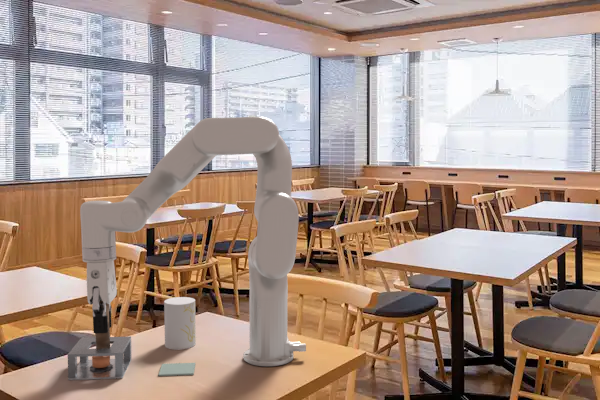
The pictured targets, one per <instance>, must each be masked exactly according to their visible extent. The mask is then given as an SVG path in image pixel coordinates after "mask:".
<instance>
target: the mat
mask: <svg viewBox="0 0 600 400" xmlns="http://www.w3.org/2000/svg"><path fill="white" fill-rule="evenodd" d="M195 368H196V362H181V363H180V362H179V363H178V362H176V363H175V362H174V363H173V362H172V363H170V362H169V363H162V364H161V366H160V369H159V372H158V377H172V376H175V377H177V375H178V376H194V374H195Z"/></svg>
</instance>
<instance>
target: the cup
mask: <svg viewBox="0 0 600 400" xmlns="http://www.w3.org/2000/svg"><path fill="white" fill-rule="evenodd" d="M163 304H164V305H163V306H164V307H163V310H164V311H163V312H164V347H165V348H166V349H170V350H175V351H176V350H186V349H187V350H188V349H191V348H193V347H194V345H196V340H197V339H196V338H197V337H196V334H197V333H196V328H197V327H196V299H195V298H194V297H187V296H176V297H168V298H167V299H165V300H164V301H163ZM190 347H191V348H190Z"/></svg>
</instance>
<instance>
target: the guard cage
mask: <svg viewBox="0 0 600 400" xmlns="http://www.w3.org/2000/svg"><path fill="white" fill-rule="evenodd" d="M92 345H96V336H95V337H80V339H79V340H78V341H77V342H76V344H75V345H74V346H73V347H72V349H71V350H70V351H69V352H68V353H67V377H68V378H67V379H68V381H82V380H83V381H85V380H111V379H112V380H114V379H116V378H117V379H123V378H124V376H125V374H126V372H127V370H128V368H129V366H130V364H131V362H132V360H133V359H132V336H110V348H104V349H96V348H91V347H92ZM92 356H110V357H111V356H112V357H113V356H114V358H110V365H109V366H107V367H103V368H95V367H93V366H92V359H89V357H92ZM78 358H79V363H78Z"/></svg>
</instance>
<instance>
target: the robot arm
mask: <svg viewBox="0 0 600 400" xmlns="http://www.w3.org/2000/svg"><path fill="white" fill-rule="evenodd" d="M225 155H226V156H227V155H228V156H232V155H253V156H254V158H255V161H256V165H257V174H256V175H257V177H256V178H257V179H256V180H257V182H256V191H255V192H256V193H255V198H254V199H255V200H254V207H253V213H254V217H255V219H256V221H257V231H256V236H255V237H254V238H253V240H252V241H251V243H250V245H249V247H248V253H247V254H248V255H247V261H248V276H249V277H248V278H249V280H248V281H249V297H248V298H249V299H248V300H249V301H248V302H249V349H247V350H245V351H244V352H243V356H242V357H243V360H244V361H245V362H246V363H248V364H250V365H253V366H257V367H258V366H259V367H276V366H277V367H278V366H283V365H286V364H288V363H291V362H292V361H293V359H294V352H306V351H307V345H306V343H301V342H300V341H290V339H289V337H288V297H289V296H288V294H289V292H288V291H289V290H288V281H289V280H288V274H289V273H290V272H291V271H292V270H293V267H294V264H295V260H296V254H297V244H298V234H299V233H298V231H299V222H300V220H299V217H300V216H299V214H300V213H299V208H298V205H297V203H296V201H295V200H294V199H293V198H292V185H293V184H292V180H293V179H292V178H293V162H292V161H293V160H292V156H291V153H290V149H289V148H288V144H287V143H286V141H285V140H284V139H283V137H282V136H281V135H280V131H279V129H278V126H277V124H276V123H275V122H274V121H273V120H272V119H270V118H268V117H265V116H238V117H206V118H203V119H201V120H200V121H198V123H197V124H195V125H194V126H192V128H191V129H190V130H189V131H188V132H187V133H186V134H185V135H184V136H183V137H182V138H181V139H180V140H179V141H178V142H177V143H176V144H175V145H174V146H173V147H172V148H171V149H170V150H169V151H168V153H166V154H165V155H164V156H163V157H162V158H161V159H160V160H159V161H158V163H156V165H155V167H154V168H153V169H152V170H151V171H150V173H149V174H148V175H147V176H146V177H145V178H144V180H142V182H140V183H139V184H138V185H137V186H136V187H135V188H134V189H133V190H132V191H131V192H130V193H129V194H128V195H127V196H126V197H125V198H124V199H123V200H122V201H117V202H116V201H115V202H112V201H110V200H90V201H89V200H88V201H85V202H83V203H81V204H80V209H79V210H80V211H79V212H80V213H79V214H80V229H81V230H80V232H81V253H82V262H83V263H86V295H87V303H88V304H89V305H90V306H92V307H91V308H92V323H93V324H92V325H93V326H92V328H93V334H95V335H96V333H107V332H108V316H106V303H107V304H109V328H110V329H111V328H112V311H111V302H113V300H114V299H115V298H116V296H117V293H118V290H117V279H116V267H115V260H117V245H116V241H117V239H116V232H121V233H136V232H138V231H140V230H142V229H143V228H144V227H145V225H146V224H147V221H148V220H149V219H150V217H152V216H153V215H154V214H155V212H157V211H158V209H159V208H161V207H162V205H164V203H166V202H167V201H168V200H169V199H170V198H171V197H172V196H173V195H175V194H176V193H178V192H180V191H181V190H183V189H184V188H185V187H186V186H188V185H189V184H190V183H191V182H192V180H193V179H194V178H196V177H197V175H198V174H200V172H201V171H202V170H204V168H205V167H206V166H208V165H209V163H210V162H212V160H213V159H215V158H216V157H217V156H225ZM99 301H103V303H99ZM100 306H103V309H102V307H100Z"/></svg>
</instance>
